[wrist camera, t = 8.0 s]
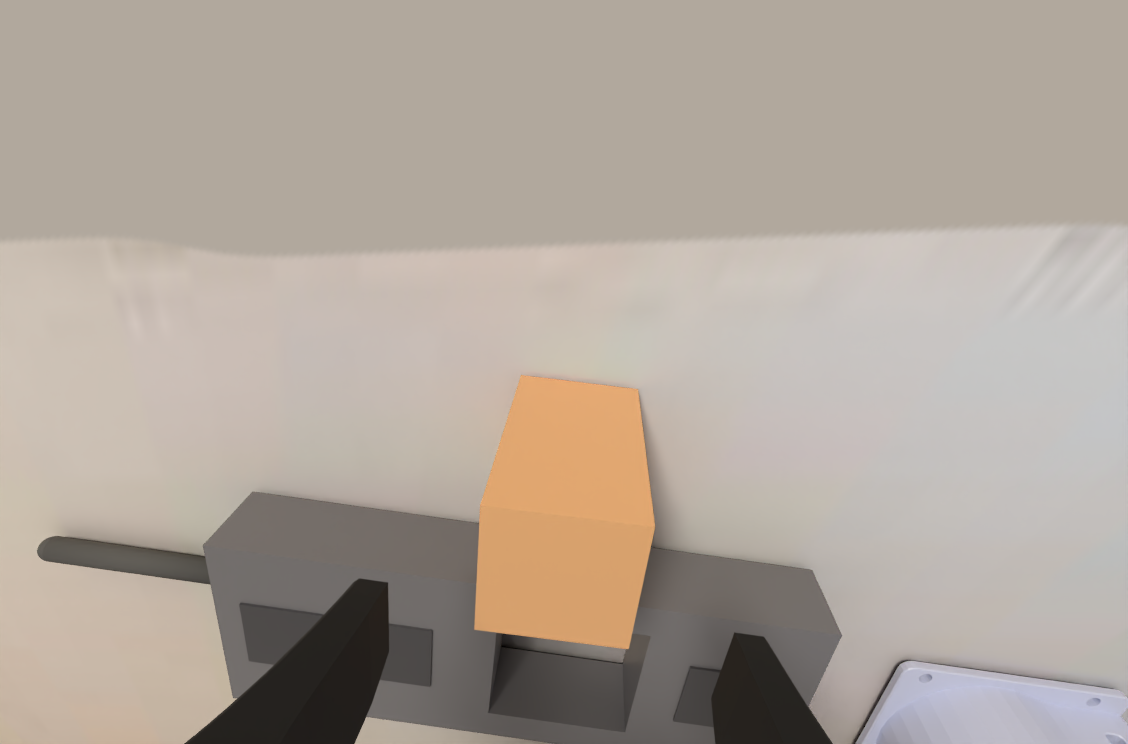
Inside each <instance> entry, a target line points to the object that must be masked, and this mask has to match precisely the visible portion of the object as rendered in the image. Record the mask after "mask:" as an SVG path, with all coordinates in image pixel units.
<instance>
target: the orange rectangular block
mask: <svg viewBox="0 0 1128 744" xmlns="http://www.w3.org/2000/svg"><path fill="white" fill-rule="evenodd" d="M654 530H655V522H654V514H653V506H652V498H651V490H650V482H649V474H648V466H647V458H646V450H645V442H644V434H643V426H642V418H641V410H640V402H639V394H638V389H632V388H623V387H615V386H607V385H598V384H590V383H582V382H573V381H565V380H557V379H548V378H540V377H531V376H523V375H521V377H520V380H519V384H518V387H517V390H516V393H515V396H514V399H513V403H512V406H511V409H510V412H509V415H508V419H507V422H506V425H505V428H504V431H503V434H502V438H501V441H500V444H499V447H498V450H497V454H496V457H495V460H494V463H493V466H492V469H491V473H490V476H489V479H488V482H487V485H486V489H485V492H484V495H483V498H482V501H481V504H480V520H479V541H478V562H477V583H476V604H475V625H474V630H480V631H488V632H496V633H504V634H512V635H520V636H528V637H536V638H544V639H552V640H559V641H567V642H575V643H583V644H591V645H599V646H607V647H615V648H623V649H629V646H630V641H631V636H632V632H633V627H634V623H635V618H636V613H637V609H638V604H639V599H640V595H641V590H642V586H643V581H644V576H645V572H646V567H647V562H648V558H649V553H650V549H651V544H652V539H653V535H654Z"/></svg>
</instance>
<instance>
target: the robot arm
mask: <svg viewBox="0 0 1128 744" xmlns="http://www.w3.org/2000/svg"><path fill="white" fill-rule="evenodd" d="M388 653H389V602H388V582H381V581H374V580H367V579H361V578H359V579H357V580H356V581H354V582H353V583H352V585H351V586H350V587H349V588H348V589H347V590H346V591H345V592H344V593H343V595H342V596H341V597H340V598H339V599H338V600H337V601H336V602H335V603H334V604H333V606H332V607H331V608H330V609H329V610H328V611H327V612H326V613H325V614H324V615H323V616H322V617H321V618H320V619H319V620H318V621H317V622H316V624H315V625H314V626H313V627H312V628H311V629H310V630H309V631H308V632H307V633H306V634H305V635H304V636H303V637H302V638H301V639H300V640H299V641H298V642H297V643H296V644H295V645H294V646H293V647H292V648H291V649H290V650H289V651H288V652H287V653H286V654H285V655H284V656H283V657H282V658H281V659H280V660H279V661H278V662H277V663H276V664H275V665H274V666H272V667H271V668H270V669H269V670H268V671H267V672H266V673H265V674H264V675H263V676H262V677H261V678H260V679H259V680H257V681H256V682H255V683H254V684H253V685H252V686H251V687H250V688H249V689H248V690H246V691H245V692H244V693H243V694H242V695H241V696H240V697H239V698H238V699H237V700H235V701H234V702H233V703H232V704H231V705H230V706H229V707H228V708H227V709H225V710H224V711H223V712H222V713H221V714H220V715H218V716H217V717H216V718H215V719H214V720H213V721H211V722H210V723H209V724H208V725H207V726H205V727H204V728H203V729H202V730H201V731H199V732H198V733H197V734H196V735H195V736H193V737H192V738H191V739H190V740H188V741H187V742H186V743H185V744H354V743H355V741H356V739H357V736H358V734H359V732H360V730H361V727H362V725H363V723H364V721H365V718H366V716H367V714H368V711H369V709H370V707H371V704H372V702H373V699H374V696H375V693H376V690H377V687H378V684H379V681H380V678H381V675H382V672H383V669H384V666H385V663H386V659H387V656H388ZM711 702H712V714H713V725H714V735H715V744H833V743H832V742H831V741H830V739H829V738H828V736H827V735H826V733H825V732H824V730H823V729H822V727H821V726H820V724H819V723H818V721H817V720H816V718H815V717H814V715H813V713H812V712H811V710H810V709H809V707H808V706H807V704H806V703H805V701H804V699H803V698H802V696H801V695H800V693H799V692H798V690H797V688H796V687H795V685H794V684H793V682H792V680H791V679H790V677H789V676H788V674H787V672H786V671H785V669H784V667H783V666H782V664H781V663H780V661H779V659H778V658H777V656H776V654H775V653H774V651H773V650H772V648H771V646H770V645H769V643H768V641H767V640H766V639H765V637H763V636H756V635H749V634H742V633H735V632H734V635H733V638H732V640H731V643H730V646H729V649H728V652H727V655H726V657H725V660H724V663H723V666H722V669H721V671H720V674H719V677H718V680H717V683H716V685H715V688H714V691H713V694H712V697H711ZM1127 708H1128V698H1127V696H1126V695H1125V694H1124V693H1123V692H1122V691H1120V690H1116V689H1109V688H1102V687H1095V686H1088V685H1080V684H1073V683H1066V682H1059V681H1052V680H1045V679H1038V678H1031V677H1024V676H1017V675H1010V674H1002V673H995V672H988V671H981V670H974V669H967V668H960V667H953V666H946V665H939V664H932V663H924V662H917V661H906V662H903V663H901V664H900V665H899V666H898V668H897V669H896V671H895V673H894V675H893V677H892V678H891V680H890V682H889V684H888V686H887V687H886V689H885V691H884V693H883V695H882V696H881V698H880V700H879V702H878V704H877V705H876V707H875V709H874V711H873V713H872V715H871V716H870V718H869V720H868V722H867V724H866V725H865V727H864V729H863V731H862V733H861V734H860V736H859V738H858V740H857V742H856V743H855V744H1128V724H1127V723H1126V721H1125V720H1124V719H1123V718H1122V717H1121V715H1122V714H1123V713H1124V712H1125V711H1126V709H1127Z"/></svg>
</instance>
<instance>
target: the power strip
mask: <svg viewBox="0 0 1128 744" xmlns="http://www.w3.org/2000/svg"><path fill="white" fill-rule="evenodd" d="M478 541H479V523H472V522H465V521H458V520H451V519H443V518H436V517H429V516H422V515H415V514H408V513H401V512H394V511H386V510H379V509H372V508H365V507H358V506H351V505H344V504H336V503H329V502H322V501H315V500H308V499H301V498H294V497H286V496H279V495H272V494H265V493H258V492H252V493H251V494H250V495H249V496H248V497H247V498H246V499H245V501H244V502H243V503H242V504H241V505H240V506H239V507H238V508H237V509H236V510H235V511H234V512H233V513H232V515H231V516H230V517H229V518H228V519H227V520H226V521H225V522H224V523H223V524H222V525H221V526H220V528H219V529H218V530H217V531H216V532H215V533H214V534H213V535H212V536H211V537H210V538H209V539H208V541H207V542H206V543H205V544H204V545H203V548H204V553H205V557H202V556H195V555H188V554H181V553H174V552H167V551H160V550H153V549H146V548H139V547H131V546H124V545H117V544H110V543H103V542H96V541H89V540H82V539H75V538H68V537H60V536H54V537H50V538H47V539H45V540H44V541H43V542H41V544H40V545H39V547H38V550H37V553H38V556H39V557H40V558H41V559H42V560H44V561H49V562H56V563H63V564H70V565H77V566H84V567H91V568H98V569H105V570H113V571H120V572H127V573H134V574H141V575H148V576H155V577H162V578H169V579H176V580H183V581H190V582H198V583H205V584H211V589H212V594H213V599H214V604H215V609H216V614H217V619H218V624H219V629H220V634H221V639H222V645H223V650H224V655H225V660H226V665H227V670H228V675H229V680H230V685H231V690H232V695H233V698H239V697H240V696H241V695H242V694H243V693H244V692H245V691H246V690H248V689H249V688H250V687H251V686H252V685H253V684H254V683H255V682H256V681H257V680H259V679H260V678H261V677H262V676H263V675H264V674H265V673H266V672H267V671H268V670H269V669H270V668H271V667H272V666H274V665H275V664H276V663H277V662H278V661H279V660H280V659H281V658H282V657H283V656H284V655H285V654H286V653H287V652H288V651H289V650H290V649H291V648H292V647H293V646H294V645H295V644H296V643H297V642H298V641H299V640H300V639H301V638H302V637H303V636H304V635H305V634H306V633H307V632H308V631H309V630H310V629H311V628H312V627H313V626H314V625H315V624H316V622H317V621H318V620H319V619H320V618H321V617H322V616H323V615H324V614H325V613H326V612H327V611H328V610H329V609H330V608H331V607H332V606H333V604H334V603H335V602H336V601H337V600H338V599H339V598H340V597H341V596H342V595H343V593H344V592H345V591H346V590H347V589H348V588H349V587H350V586H351V585H352V583H353V582H354V581H356V580H357V579H359V578H361V579H367V580H374V581H381V582H388V602H389V653H388V656H387V659H386V663H385V666H384V669H383V672H382V675H381V678H380V681H379V684H378V687H377V690H376V693H375V696H374V699H373V702H372V704H371V707H370V709H369V711H368V714H367V716H366V717H372V718H379V719H386V720H393V721H400V722H407V723H414V724H421V725H428V726H435V727H442V728H449V729H456V730H463V731H470V732H477V733H484V734H491V735H498V736H505V737H512V738H519V739H526V740H533V741H540V742H547V743H554V744H715V735H714V725H713V714H712V702H711V697H712V694H713V691H714V688H715V685H716V683H717V680H718V677H719V674H720V671H721V669H722V666H723V663H724V660H725V657H726V655H727V652H728V649H729V646H730V643H731V640H732V638H733V635H734V632H735V633H742V634H749V635H756V636H763V637H765V639H766V640H767V641H768V643H769V645H770V646H771V648H772V650H773V651H774V653H775V654H776V656H777V658H778V659H779V661H780V663H781V664H782V666H783V667H784V669H785V671H786V672H787V674H788V676H789V677H790V679H791V680H792V682H793V684H794V685H795V687H796V688H797V690H798V692H799V693H800V695H801V696H802V698H803V699H804V701H805V703H806V704H807V706H809V704H810V702H811V700H812V697H813V695H814V693H815V691H816V689H817V687H818V685H819V683H820V681H821V678H822V676H823V674H824V672H825V670H826V668H827V666H828V664H829V662H830V659H831V657H832V655H833V653H834V651H835V649H836V647H837V645H838V643H839V641H840V638H841V636H842V635H841V632H840V630H839V628H838V626H837V624H836V621H835V619H834V617H833V615H832V613H831V610H830V608H829V606H828V604H827V602H826V599H825V597H824V595H823V593H822V591H821V588H820V586H819V584H818V582H817V580H816V577H815V575H814V573H813V571H812V570H808V569H800V568H793V567H786V566H779V565H772V564H765V563H758V562H750V561H743V560H736V559H729V558H722V557H715V556H708V555H700V554H693V553H686V552H679V551H672V550H665V549H658V548H651V549H650V553H649V558H648V562H647V567H646V572H645V576H644V581H643V586H642V590H641V595H640V599H639V604H638V609H637V613H636V618H635V623H634V627H633V632H632V636H631V641H630V646H629V649H626V653H625V657H624V661H623V664H618V663H611V662H604V661H597V660H589V659H582V658H575V657H568V656H561V655H554V654H547V653H540V652H533V651H526V650H519V649H512V648H505V647H501V642H502V633H496V632H488V631H480V630H474V625H475V604H476V583H477V562H478Z"/></svg>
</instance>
